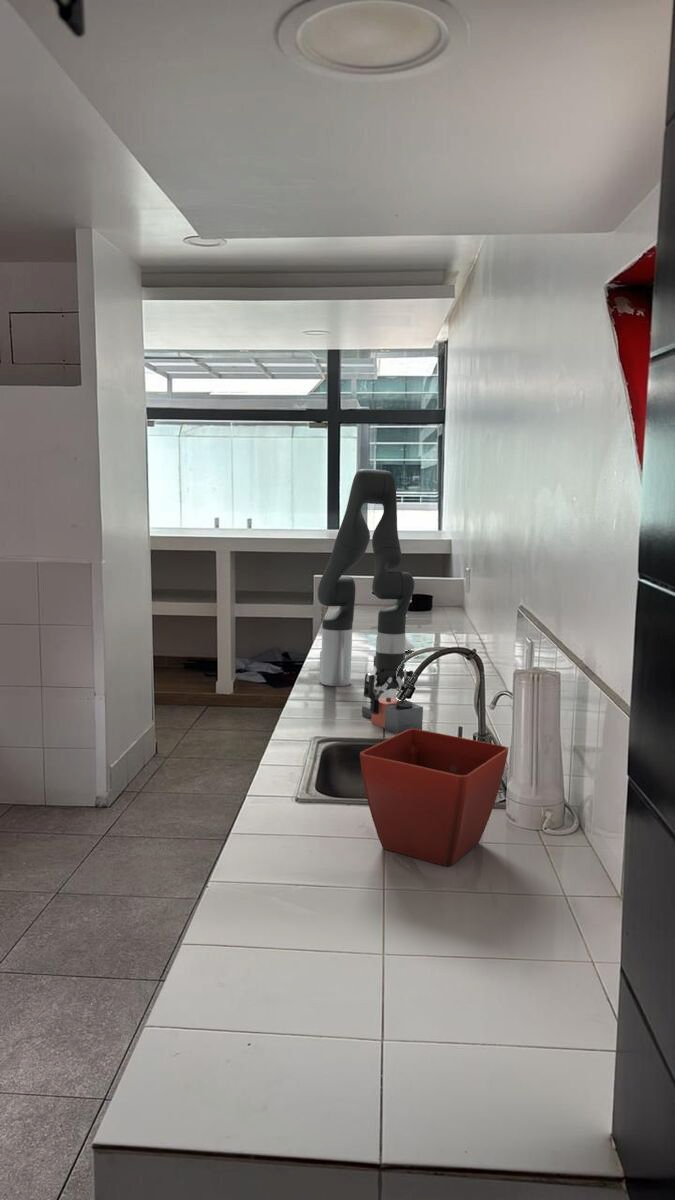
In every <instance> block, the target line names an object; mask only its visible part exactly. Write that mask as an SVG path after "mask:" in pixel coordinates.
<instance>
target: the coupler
mask: <svg viewBox="0 0 675 1200" xmlns="http://www.w3.org/2000/svg"><path fill="white" fill-rule="evenodd" d="M361 708H362V709H361V715H362V716H363V717H366V718H368V719H371V718H372V712H371V711H370V704H367V705H362V706H361ZM423 712H424V706H422V705H419V704H416V703H413V702H412V701H410V700H407V701H397V703H396V705H389V706H386V708H385V728H384V730H385V731H388V732H390V733H393V734H395V735H397V734H399V733H401V732H403V731H405V730H408V729H419V730H423V720H424V719H423V718H424V717H423V715H424V713H423Z"/></svg>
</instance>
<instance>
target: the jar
mask: <svg viewBox="0 0 675 1200" xmlns="http://www.w3.org/2000/svg"><path fill="white" fill-rule="evenodd" d="M375 661H376V655H374V656H373V664H372V674H375V673H376V670H377V669H376V666H375ZM375 681H376V680H375ZM375 683H376V682H374V685H375ZM379 688H381V687H380V686H379ZM396 693H397V690H396V689H389V690H385V691H384V693H382V694H381V696H380V697H379V699H381V698H387V697H392V698H395V699H396Z"/></svg>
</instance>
